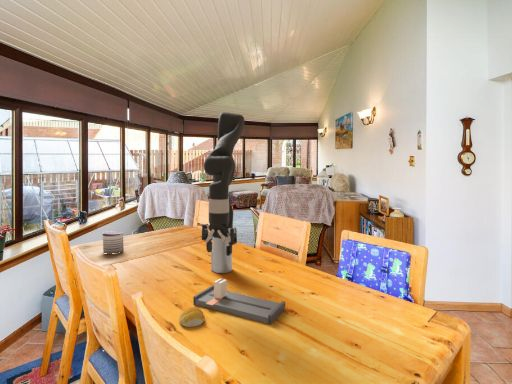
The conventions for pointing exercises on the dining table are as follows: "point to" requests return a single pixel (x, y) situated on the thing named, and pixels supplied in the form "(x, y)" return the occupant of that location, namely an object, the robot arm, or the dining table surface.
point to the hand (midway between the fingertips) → (219, 253)
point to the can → (113, 242)
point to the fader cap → (220, 288)
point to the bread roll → (191, 317)
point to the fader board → (241, 305)
